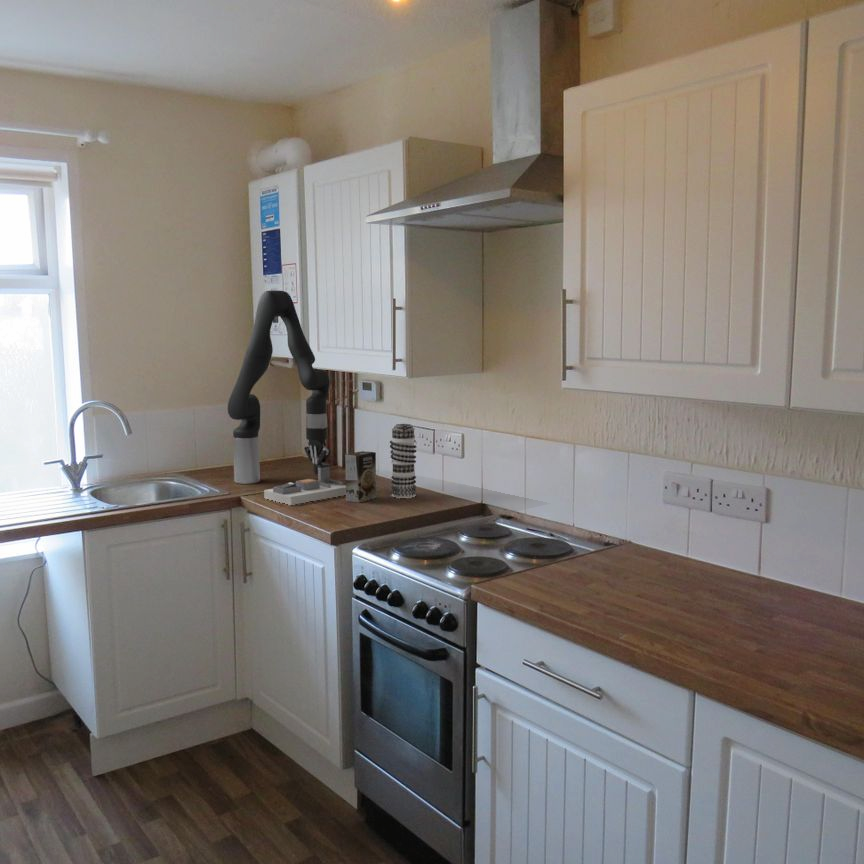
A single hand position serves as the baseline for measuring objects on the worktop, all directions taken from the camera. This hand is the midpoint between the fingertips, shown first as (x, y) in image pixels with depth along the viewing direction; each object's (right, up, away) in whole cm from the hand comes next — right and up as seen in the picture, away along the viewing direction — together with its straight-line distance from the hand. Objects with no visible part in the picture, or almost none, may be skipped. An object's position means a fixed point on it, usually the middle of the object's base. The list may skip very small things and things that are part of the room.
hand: (317, 474), depth 305 cm
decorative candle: (+31, -7, -9) cm, 33 cm away
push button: (-2, -4, -9) cm, 11 cm away
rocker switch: (-8, -4, -15) cm, 18 cm away
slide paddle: (+3, -3, -2) cm, 5 cm away
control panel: (-2, -7, -9) cm, 12 cm away
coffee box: (+17, -8, -14) cm, 24 cm away
